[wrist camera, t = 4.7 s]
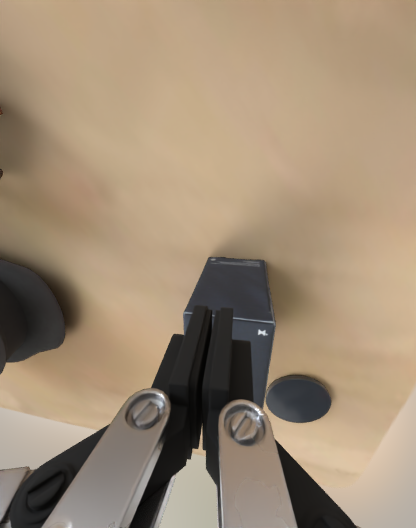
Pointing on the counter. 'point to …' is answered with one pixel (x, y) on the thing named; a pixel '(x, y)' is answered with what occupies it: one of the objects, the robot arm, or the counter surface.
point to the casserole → (27, 315)
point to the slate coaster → (298, 399)
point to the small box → (240, 309)
